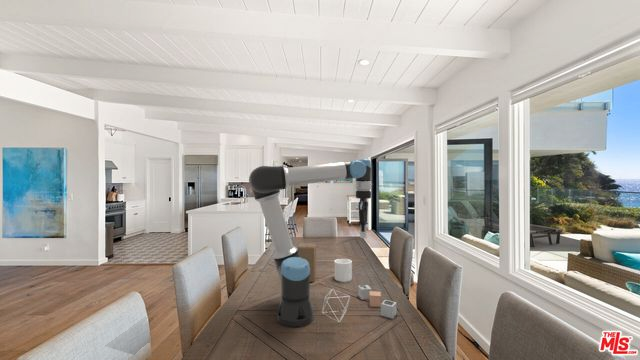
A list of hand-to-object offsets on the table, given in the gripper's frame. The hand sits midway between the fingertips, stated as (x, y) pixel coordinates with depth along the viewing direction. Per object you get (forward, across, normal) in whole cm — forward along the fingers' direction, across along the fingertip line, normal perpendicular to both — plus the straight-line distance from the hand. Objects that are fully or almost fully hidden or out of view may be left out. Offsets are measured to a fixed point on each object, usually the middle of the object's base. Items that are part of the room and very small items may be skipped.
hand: (363, 237), depth 137 cm
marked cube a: (+29, -16, -14) cm, 36 cm away
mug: (+29, +20, +16) cm, 38 cm away
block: (+29, +11, +35) cm, 47 cm away
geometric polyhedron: (+29, -24, +7) cm, 38 cm away
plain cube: (+29, -8, -7) cm, 30 cm away
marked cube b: (+29, -2, -1) cm, 29 cm away
